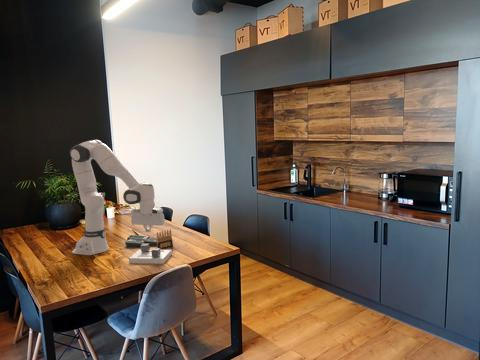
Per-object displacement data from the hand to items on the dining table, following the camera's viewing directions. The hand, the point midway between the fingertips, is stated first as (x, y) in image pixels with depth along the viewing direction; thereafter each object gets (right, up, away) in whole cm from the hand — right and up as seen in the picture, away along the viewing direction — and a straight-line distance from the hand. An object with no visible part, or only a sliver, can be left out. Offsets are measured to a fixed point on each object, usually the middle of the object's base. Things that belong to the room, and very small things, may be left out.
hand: (148, 231), depth 226 cm
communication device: (-8, -13, +25) cm, 29 cm away
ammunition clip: (+7, -13, +16) cm, 22 cm away
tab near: (+7, -13, -7) cm, 16 cm away
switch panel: (+2, -16, -2) cm, 16 cm away
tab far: (-2, -12, +2) cm, 12 cm away
